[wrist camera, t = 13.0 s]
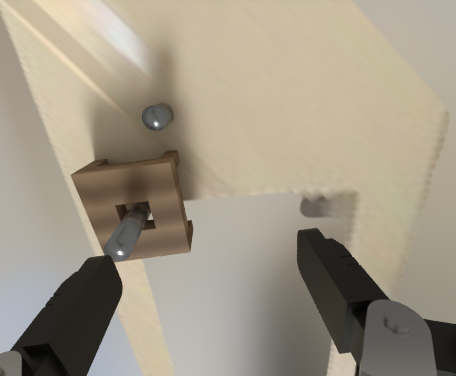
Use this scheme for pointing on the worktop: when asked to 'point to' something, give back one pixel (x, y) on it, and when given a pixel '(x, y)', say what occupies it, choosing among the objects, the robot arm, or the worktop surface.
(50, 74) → the worktop surface
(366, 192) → the worktop surface
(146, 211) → the long pin
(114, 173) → the wooden square-hole block
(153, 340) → the worktop surface
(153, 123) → the short pin
